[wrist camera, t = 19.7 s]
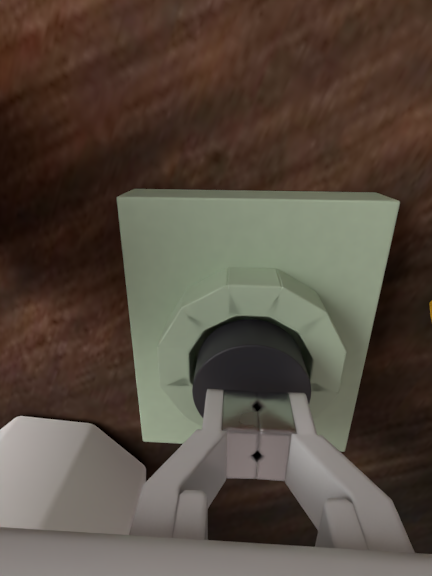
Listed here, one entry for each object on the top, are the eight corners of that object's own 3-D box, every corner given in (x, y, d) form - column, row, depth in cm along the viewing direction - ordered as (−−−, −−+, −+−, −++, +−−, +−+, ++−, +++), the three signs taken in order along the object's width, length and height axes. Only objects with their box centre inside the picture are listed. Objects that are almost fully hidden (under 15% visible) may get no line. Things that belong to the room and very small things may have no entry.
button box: (132, 188, 14) (96, 205, 10) (376, 192, 14) (429, 211, 10) (152, 410, 19) (132, 474, 15) (333, 418, 18) (357, 487, 15)
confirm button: (196, 316, 12) (190, 342, 11) (308, 320, 12) (319, 347, 10) (198, 402, 14) (193, 436, 12) (296, 407, 14) (304, 442, 12)
